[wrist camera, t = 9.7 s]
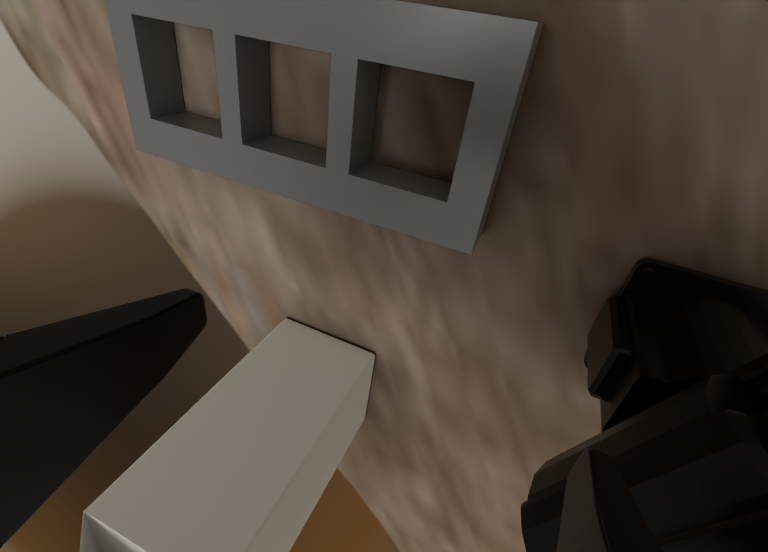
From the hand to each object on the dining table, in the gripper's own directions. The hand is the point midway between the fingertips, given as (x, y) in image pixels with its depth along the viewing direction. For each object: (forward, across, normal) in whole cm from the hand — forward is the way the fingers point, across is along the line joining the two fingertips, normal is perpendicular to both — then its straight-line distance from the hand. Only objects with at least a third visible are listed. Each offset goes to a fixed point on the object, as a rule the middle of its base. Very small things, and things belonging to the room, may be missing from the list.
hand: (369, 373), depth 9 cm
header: (+13, +9, -2) cm, 16 cm away
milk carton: (+13, +7, +16) cm, 22 cm away
